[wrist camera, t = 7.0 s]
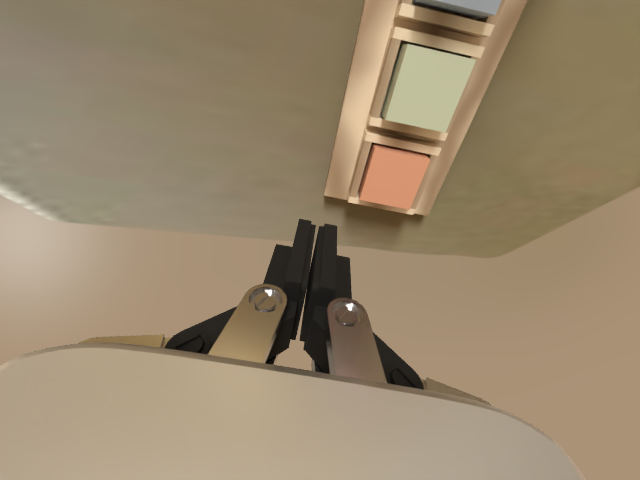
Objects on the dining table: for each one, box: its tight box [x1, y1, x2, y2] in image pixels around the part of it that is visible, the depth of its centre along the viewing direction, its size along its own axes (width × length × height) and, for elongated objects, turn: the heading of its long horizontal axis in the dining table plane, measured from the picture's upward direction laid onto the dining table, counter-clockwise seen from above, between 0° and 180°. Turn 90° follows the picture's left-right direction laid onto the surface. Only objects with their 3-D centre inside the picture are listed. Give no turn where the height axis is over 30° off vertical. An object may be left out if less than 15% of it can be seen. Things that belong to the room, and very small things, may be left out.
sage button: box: [381, 44, 476, 133], centre depth 26 cm, size 6×6×3 cm
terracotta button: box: [358, 142, 430, 210], centre depth 32 cm, size 6×6×3 cm
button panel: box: [324, 0, 528, 216], centre depth 28 cm, size 14×28×4 cm, turn 169°
